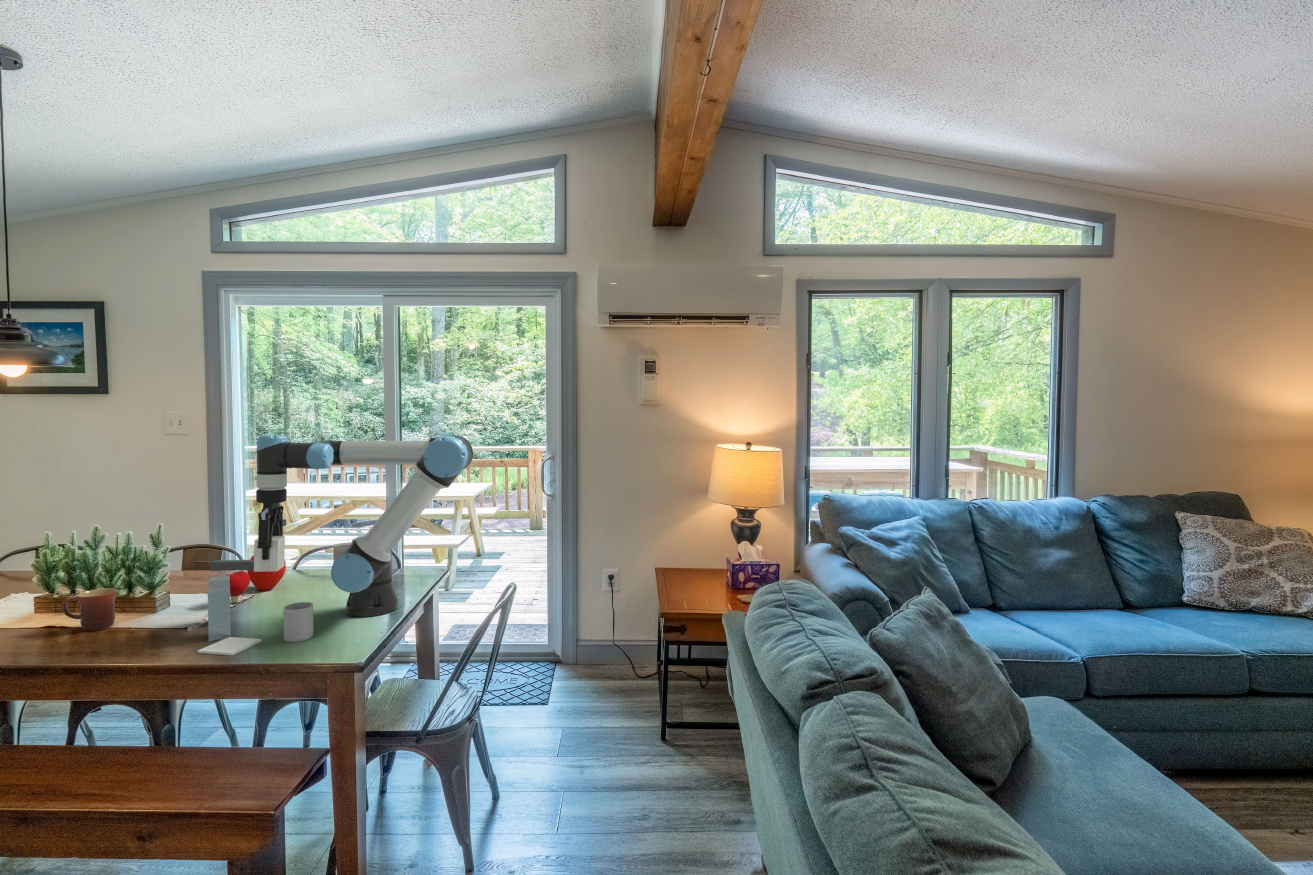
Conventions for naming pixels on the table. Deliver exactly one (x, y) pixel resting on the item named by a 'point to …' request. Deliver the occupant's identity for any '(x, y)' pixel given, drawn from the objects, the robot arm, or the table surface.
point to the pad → (230, 646)
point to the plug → (255, 564)
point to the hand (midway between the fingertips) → (270, 567)
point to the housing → (219, 608)
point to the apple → (266, 578)
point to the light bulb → (238, 584)
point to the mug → (94, 608)
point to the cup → (298, 621)
